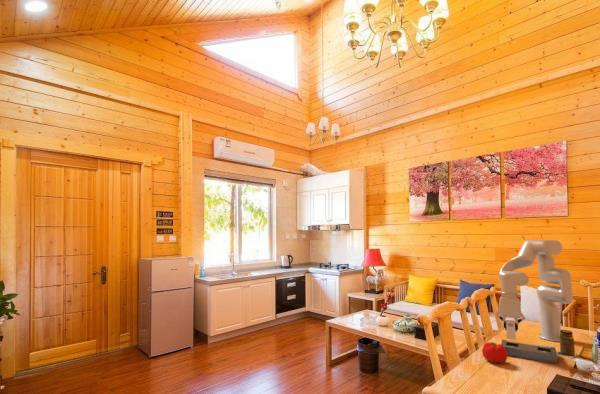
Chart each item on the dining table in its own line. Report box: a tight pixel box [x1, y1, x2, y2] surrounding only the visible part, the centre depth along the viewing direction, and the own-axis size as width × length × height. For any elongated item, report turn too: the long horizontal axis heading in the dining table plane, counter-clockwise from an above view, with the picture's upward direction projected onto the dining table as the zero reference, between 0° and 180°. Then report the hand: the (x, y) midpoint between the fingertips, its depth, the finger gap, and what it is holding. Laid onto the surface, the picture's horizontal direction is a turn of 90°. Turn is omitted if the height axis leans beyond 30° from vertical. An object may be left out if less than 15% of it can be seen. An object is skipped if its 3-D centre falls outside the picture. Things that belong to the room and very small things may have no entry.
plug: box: [505, 319, 517, 341], centre depth 183 cm, size 5×4×9 cm
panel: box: [500, 339, 559, 365], centre depth 179 cm, size 14×24×4 cm, turn 57°
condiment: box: [556, 329, 579, 359], centre depth 180 cm, size 7×8×12 cm
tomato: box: [481, 341, 508, 364], centre depth 170 cm, size 11×11×9 cm
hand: (510, 329), depth 183 cm, fingers closed on plug, 4 cm apart
